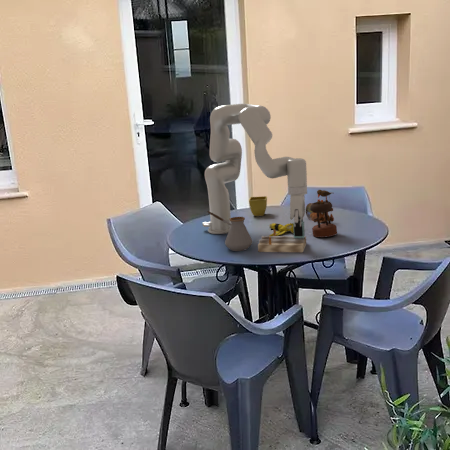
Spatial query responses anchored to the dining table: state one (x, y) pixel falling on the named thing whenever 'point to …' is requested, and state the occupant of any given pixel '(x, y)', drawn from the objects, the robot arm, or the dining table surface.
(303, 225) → the fader
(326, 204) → the music box
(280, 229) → the yellow action figure
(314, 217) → the tin
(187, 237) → the dining table surface
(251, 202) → the flower pot
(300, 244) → the console
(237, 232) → the coffee pot
